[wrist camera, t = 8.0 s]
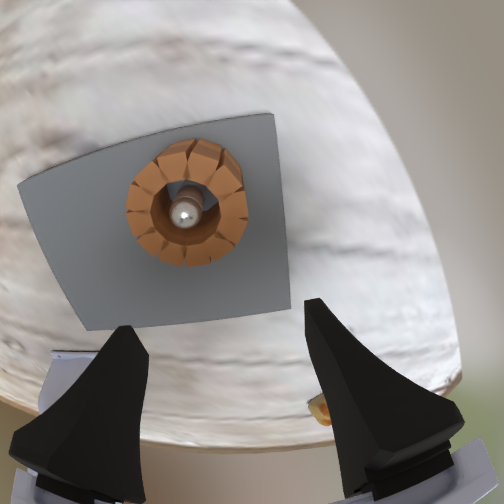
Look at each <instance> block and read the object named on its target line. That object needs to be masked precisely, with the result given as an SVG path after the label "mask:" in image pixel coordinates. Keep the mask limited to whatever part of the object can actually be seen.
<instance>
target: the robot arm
mask: <svg viewBox="0 0 504 504" xmlns="http://www.w3.org/2000/svg"><path fill="white" fill-rule="evenodd" d="M304 314H305V337H306V341H307V346H308V350H309V354H310V358H311V361H312V364H313V366H314V369H315V372H316V375H317V378H318V380H319V383H320V386H321V389H322V392H323V394H324V397H325V400H326V403H327V407H328V410H329V415H330V419H331V423H332V428H333V433H334V438H335V443H336V447H337V453H338V459H339V464H340V471H341V477H342V484H343V492H344V495H345V500H341V501H338V502H334V503H329V504H474V503H475V502H477V501H478V500H479V499H481V498H482V497H483V496H485V495H486V494H487V493H489V492H490V491H491V490H493V489H494V488H495V487H496V486H498V484H499V482H498V479H497V476H496V473H495V471H494V468H493V465H492V463H491V460H490V458H489V455H488V453H487V450H486V448H485V445H484V443H483V441H482V439H481V437H478V438H476V439H475V440H473V441H471V442H470V443H468V444H467V445H465V446H464V447H462V448H460V449H459V450H457V451H455V452H454V453H452V454H450V452H449V450H448V449H450V448H451V444H450V441H449V439H450V438H451V437H452V436H453V435H454V434H456V433H457V432H458V431H459V430H460V429H461V428H462V427H463V425H464V423H465V421H464V419H463V417H462V415H461V413H460V411H459V409H458V407H457V406H456V404H455V403H454V402H453V401H451V400H448V399H446V398H444V397H441V396H439V395H437V394H435V393H432V392H430V391H428V390H427V389H425V388H423V387H421V386H419V385H417V384H416V383H414V382H412V381H411V380H409V379H408V378H406V377H404V376H403V375H401V374H399V373H398V372H396V371H395V370H394V369H392V368H391V367H389V366H388V365H387V364H385V363H384V362H383V361H382V360H380V359H379V358H378V357H376V356H375V355H374V354H373V353H372V352H371V351H369V350H368V349H367V348H366V347H365V346H364V345H363V344H362V343H361V342H360V341H358V340H357V339H356V338H355V337H354V336H353V335H352V334H351V333H350V332H349V330H348V329H347V328H346V327H345V326H344V325H343V324H342V323H341V322H340V321H339V320H338V319H337V318H336V316H335V315H334V314H333V313H332V312H331V311H330V309H329V308H328V307H327V306H326V304H325V303H324V302H323V301H322V299H320V298H316V299H310V300H305V301H304ZM50 355H51V357H52V358H53V359H54V360H53V362H52V364H51V367H50V369H49V371H48V374H47V376H46V379H45V381H44V384H43V387H42V389H41V392H40V395H39V399H38V408H39V413H40V415H39V416H38V417H37V418H35V419H34V420H32V421H31V422H30V423H28V424H26V425H25V426H23V427H22V428H20V429H18V430H17V431H15V432H14V434H13V438H12V442H11V446H10V449H9V455H10V456H11V457H12V458H14V459H15V460H17V461H18V462H20V463H21V464H23V465H25V466H27V467H28V471H27V472H25V471H23V470H21V469H19V468H17V470H16V474H15V480H14V485H13V490H12V497H11V504H122V503H124V501H125V502H130V503H135V504H142V503H144V502H145V501H146V498H145V493H144V487H143V482H142V474H141V465H140V420H141V413H142V407H143V401H144V396H145V390H146V384H147V378H148V366H149V354H148V353H147V351H146V349H145V348H144V346H143V345H142V343H141V341H140V340H139V338H138V336H137V335H136V333H135V331H134V329H133V328H132V326H131V325H124V326H119V327H118V328H117V329H116V330H115V331H114V333H113V334H112V335H111V336H110V338H109V339H108V340H107V342H106V343H105V344H104V346H103V347H102V348H101V350H100V351H99V352H54V351H52V352H51V353H50ZM361 494H362V495H361ZM358 495H359V496H358ZM354 496H355V497H354ZM351 497H352V498H351ZM348 498H349V499H348Z"/></svg>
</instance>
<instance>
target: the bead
mask: <svg viewBox="0 0 504 504" xmlns="http://www.w3.org/2000/svg"><path fill="white" fill-rule="evenodd" d="M184 179H188V180H191V181H194V182H197V183H200V184H203V185H206V187H207V188H208V189H209V190H210V191H211V192H212V193H213V194H214V195H215V196H216V198H217V199H218V202H217V203H216V204H215V205H213V206H212V207H211V208H210V209H208V210H207V211H202V216H201V219H200V221H199V222H198V223H197V225H195V226H194V227H192V228H189V229H182V228H179V227H177V226H175V225H174V224H173V222H172V221H171V219H170V215H169V211H170V207H171V205H172V202H173V201H172V200H171V199H170V196H169V192H168V188H167V183H170V182H175V181H179V180H184ZM133 180H134V181H133V182H132V183H131V184H130V189H129V193H128V198H127V202H126V207H125V209H128V211H127V212H126V217H127V220H128V223H129V226H130V228H131V231H132V234H133V237H135V236H139V237H138V238H137V240H136V241H137V242H138V243H139V244H140V245H141V246H142V247H143V248H144V249H145V250H146V251H147V252H149V253H150V254H151V255H152V256H153V257H155V256H156V255H158V254H159V253H160V255H159V259H158V260H160V261H163V262H166V263H170V264H173V265H176V266H180V267H182V265H183V262H184V260H185V263H186V267H194V266H200V265H207V264H211V258H212V259H213V260H214V261H215V262H216V261H218V260H219V259H220V258H222V257H223V256H225V255H226V254H227V253H229V252H230V251H231V250H233V249H234V248H235V243H236V244H238V243H239V241H240V239H241V237H242V234H243V232H244V230H245V228H246V225H247V223H248V218H247V217H249V215H248V208H247V202H246V195H245V189H244V183H243V177H242V171H241V168H240V166H239V164H238V162H237V161H236V160H235V159H234V158H233V157H232V155H231V154H230V153H229V152H228V151H227V149H226V148H225V149H223V150H222V151H221V145H219V144H216V143H213V142H210V141H207V140H204V139H201V138H200V140H199V141H198V143H197V141H196V138H194V139H189V140H184V141H180V142H175V143H173V144H172V145H169V146H168V147H167V148H166V149H165V150H164V151H162V152H161V153H160V154H159V155H158V156H157V157H156V158H154V159H153V160H152V161H151V162H150V163H149V164H148V165H147V166H146V167H145V168H144V169H143V170H142V171H141V172H140V173H139V174H138V175H137V176H136V177H135V178H134V179H133Z"/></svg>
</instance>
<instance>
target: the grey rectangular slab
mask: <svg viewBox="0 0 504 504" xmlns="http://www.w3.org/2000/svg"><path fill="white" fill-rule="evenodd" d="M194 138H196V141H197V143H198V141H199V140H200V138H201V139H204V140H207V141H210V142H213V143H216V144H219V145H221V151H222V150H223V149H225V148H226V149H227V151H228V152H229V153H230V154H231V155H232V157H233V158H234V159H235V160H236V161H237V162H238V164H239V166H240V168H241V171H242V177H243V183H244V189H245V195H246V202H247V208H248V215H249V217H247V218H248V223H247V225H246V228H245V230H244V232H243V234H242V237H241V239H240V241H239V243H238V244H236V243H235V248H234V249H233V250H231V251H230V252H229V253H227V254H226V255H225V256H223V257H222V258H220V259H219V260H218V261H216V262H215V261H214V260H213V259H212V258H211V264H207V265H200V266H194V267H186V263H185V260H184V262H183V265H182V267H180V266H176V265H173V264H170V263H166V262H163V261H160V260H158V259H159V255H160V253H159V254H158V255H156V256H155V257H153V256H152V255H151V254H150V253H149V252H147V251H146V250H145V249H144V248H143V247H142V246H141V245H140V244H139V243H138V242H137V241H136V240H137V238H138V237H139V236H135V237H133V234H132V231H131V228H130V226H129V223H128V220H127V217H126V212H127V211H128V209H125V207H126V202H127V198H128V193H129V189H130V184H131V183H132V182H133V181H134V180H133V179H134V178H135V177H136V176H137V175H138V174H139V173H140V172H141V171H142V170H143V169H144V168H145V167H146V166H147V165H148V164H149V163H150V162H151V161H152V160H153V159H154V158H156V157H157V156H158V155H159V154H160V153H161V152H162V151H164V150H165V149H166V148H167V147H168V146H169V145H172V144H173V143H175V142H180V141H184V140H189V139H194ZM183 181H184V180H179V181H175V182H170V183H167V188H168V192H169V196H170V199H171V200H172V201H173V200H174V198H175V196H176V194H177V192H178V190H179V188H180V186H181V184H182V182H183ZM17 187H18V190H19V193H20V196H21V199H22V202H23V205H24V208H25V210H26V213H27V216H28V218H29V221H30V223H31V226H32V228H33V231H34V233H35V235H36V238H37V240H38V242H39V244H40V247H41V249H42V251H43V253H44V255H45V257H46V259H47V262H48V264H49V266H50V268H51V270H52V272H53V273H54V275H55V277H56V279H57V281H58V283H59V285H60V287H61V289H62V290H63V292H64V294H65V296H66V297H67V299H68V301H69V303H70V304H71V306H72V308H73V309H74V311H75V313H76V314H77V316H78V317H79V319H80V321H81V322H82V324H83V325H84V327H85V328H86V330H87V331H92V330H112V329H117V328H118V327H119V326H124V325H131V326H132V328H141V327H153V326H164V325H174V324H184V323H193V322H202V321H211V320H219V319H226V318H234V317H241V316H248V315H255V314H262V313H268V312H275V311H281V310H287V309H291V299H290V283H289V268H288V254H287V241H286V229H285V217H284V206H283V195H282V184H281V174H280V165H279V155H278V146H277V137H276V128H275V120H274V114H272V113H265V114H256V115H248V116H241V117H234V118H228V119H222V120H216V121H210V122H205V123H199V124H194V125H189V126H185V127H180V128H176V129H171V130H167V131H163V132H159V133H155V134H151V135H147V136H143V137H140V138H136V139H133V140H129V141H126V142H122V143H119V144H116V145H113V146H109V147H106V148H103V149H100V150H97V151H94V152H92V153H89V154H86V155H83V156H80V157H78V158H75V159H72V160H70V161H67V162H65V163H62V164H60V165H57V166H55V167H52V168H50V169H48V170H45V171H43V172H41V173H38V174H36V175H34V176H32V177H30V178H28V179H26V180H24V181H23V182H21V183H19V184H18V185H17ZM217 202H218V199H217V198H216V196H215V195H214V194H213V193H212V192H211V191H210V190H209V189H208V188H207V192H206V197H205V201H204V206H203V211H207V210H208V209H210V208H211V207H212V206H213V205H215V204H216V203H217Z"/></svg>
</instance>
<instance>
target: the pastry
mask: <svg viewBox="0 0 504 504" xmlns="http://www.w3.org/2000/svg"><path fill="white" fill-rule="evenodd" d="M308 408H309V410H310V412H311V413H312V415H313V416H314V417H315V418H316V419H317V421H318V422H319V423H320V424H322V425H324V426H330V425H332V423H331V419H330V415H329V410H328V407H327V403H326V400H325V397H324V394H323V393H322V394H320V395H318V396H317V397H315V398H314V399H312V400H311V401H310V403H309V405H308Z"/></svg>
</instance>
